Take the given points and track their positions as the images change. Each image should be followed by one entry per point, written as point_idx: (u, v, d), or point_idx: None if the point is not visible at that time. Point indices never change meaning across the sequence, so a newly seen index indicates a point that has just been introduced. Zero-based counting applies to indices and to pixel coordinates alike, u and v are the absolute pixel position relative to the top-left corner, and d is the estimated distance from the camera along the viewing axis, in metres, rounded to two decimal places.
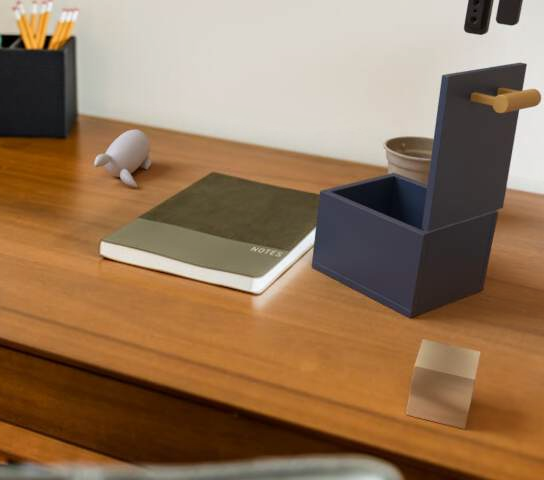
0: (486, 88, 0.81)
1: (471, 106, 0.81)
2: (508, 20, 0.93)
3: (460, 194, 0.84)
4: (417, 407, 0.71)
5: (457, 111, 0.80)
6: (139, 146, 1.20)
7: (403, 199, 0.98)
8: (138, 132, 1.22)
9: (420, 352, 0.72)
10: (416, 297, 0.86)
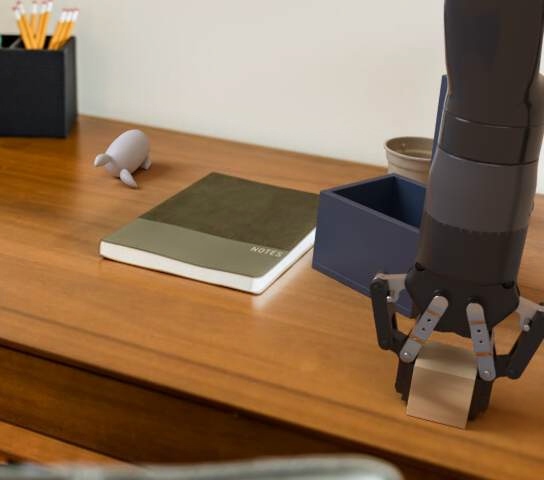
0: None
1: None
2: None
3: None
4: (417, 407, 0.71)
5: None
6: (139, 146, 1.20)
7: (403, 199, 0.98)
8: (138, 132, 1.22)
9: (420, 352, 0.72)
10: None
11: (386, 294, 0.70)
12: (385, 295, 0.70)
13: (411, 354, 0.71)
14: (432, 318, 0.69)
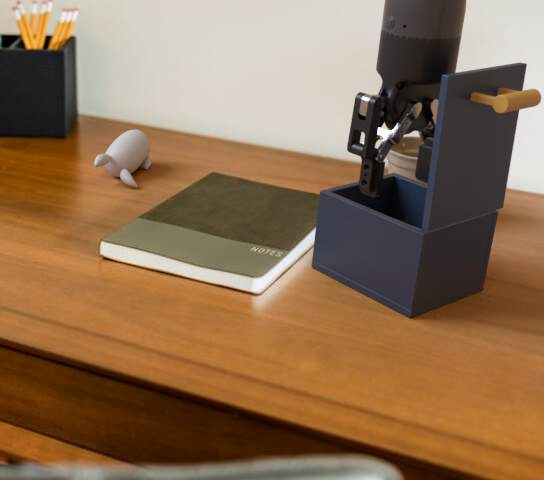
0: (486, 88, 0.81)
1: (471, 106, 0.81)
2: (425, 177, 0.94)
3: (460, 194, 0.84)
4: None
5: (457, 111, 0.80)
6: (139, 146, 1.20)
7: (403, 199, 0.98)
8: (138, 132, 1.22)
9: None
10: (416, 297, 0.86)
11: None
12: (380, 110, 0.85)
13: (384, 155, 0.87)
14: (408, 121, 0.87)
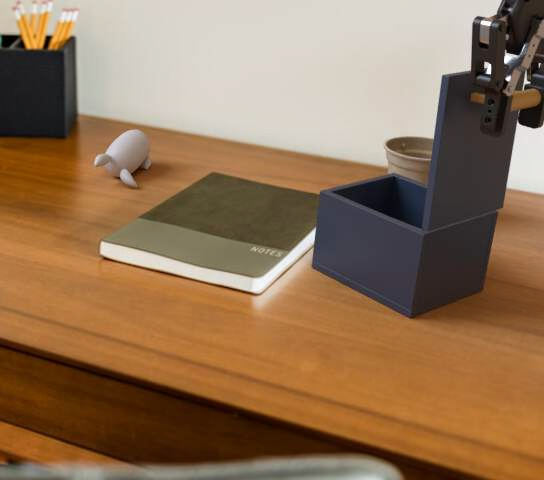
0: None
1: (471, 106, 0.81)
2: (530, 122, 0.81)
3: (460, 194, 0.84)
4: None
5: (457, 111, 0.80)
6: (139, 146, 1.20)
7: (403, 199, 0.98)
8: (138, 132, 1.22)
9: None
10: (416, 297, 0.86)
11: None
12: (505, 33, 0.73)
13: (513, 86, 0.76)
14: (535, 42, 0.75)
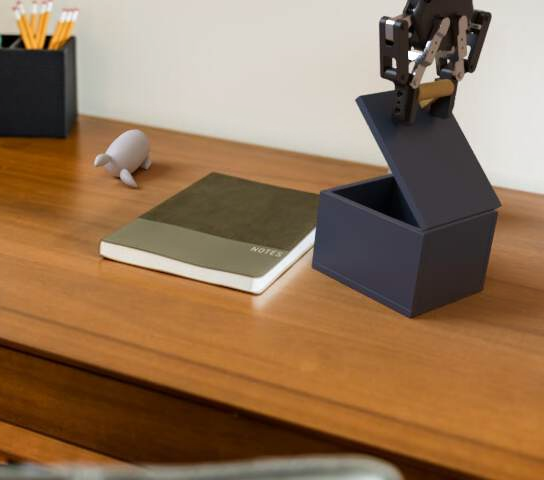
0: None
1: None
2: (440, 113, 0.89)
3: (441, 193, 0.86)
4: None
5: (387, 122, 0.87)
6: (139, 146, 1.20)
7: (403, 199, 0.98)
8: (138, 132, 1.22)
9: None
10: (416, 297, 0.86)
11: None
12: (407, 32, 0.81)
13: (418, 79, 0.84)
14: (437, 40, 0.83)
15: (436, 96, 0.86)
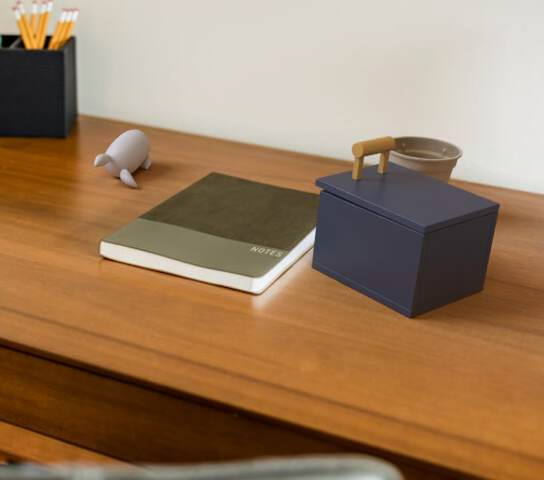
0: (365, 174, 0.95)
1: (363, 181, 0.93)
2: None
3: (429, 207, 0.87)
4: None
5: (351, 185, 0.92)
6: (139, 146, 1.20)
7: None
8: (138, 132, 1.22)
9: None
10: (416, 297, 0.86)
11: None
12: None
13: None
14: None
15: (380, 147, 0.93)
